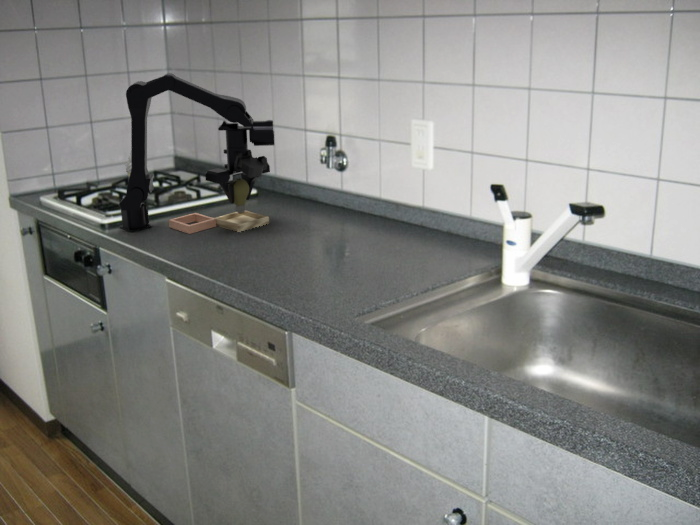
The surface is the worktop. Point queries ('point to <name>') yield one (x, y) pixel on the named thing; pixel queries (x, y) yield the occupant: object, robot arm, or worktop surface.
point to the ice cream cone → (128, 166)
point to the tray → (241, 221)
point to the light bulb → (240, 194)
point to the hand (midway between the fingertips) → (239, 201)
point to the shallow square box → (182, 224)
